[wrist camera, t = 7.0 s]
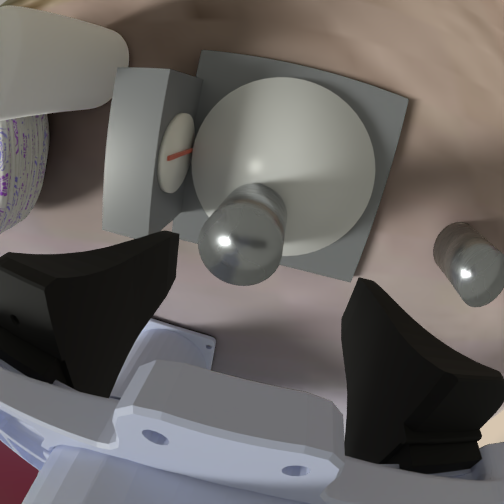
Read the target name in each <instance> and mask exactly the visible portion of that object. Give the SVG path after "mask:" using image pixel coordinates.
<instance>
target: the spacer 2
mask: <svg viewBox="0 0 504 504" xmlns="http://www.w3.org/2000/svg"><path fill="white" fill-rule="evenodd" d="M433 255H434V260H435V262H436V264H437V265H438V266H439V268H440V269H441V270H442V272H443V273H444V274H445V276H446V277H447V278H448V280H449V281H450V282H451V284H452V285H453V287H454V288H455V289H456V291H457V292H458V294H459V295H460V296H461V298H462V299H463V301H464V302H465V303H466V304H467V305H469V306H472V307H481V306H484V305H487V304H488V303H490V302H492V301H493V300H494V299H495V298H496V297H497V296H498V295H499V294H500V293H501V291H502V290H503V288H504V255H503V254H502V253H501V252H500V251H499V250H498V249H497V248H495V247H494V246H493V245H492V244H491V243H490V242H489V241H487V240H486V239H485V238H484V237H483V236H481V235H480V234H479V233H478V232H477V231H475V230H474V229H473V228H472V227H470V226H469V225H468V224H466V223H462V222H456V223H452V224H450V225H448V226H447V227H445V228H444V229H443V230H442V231H441V232H440V234H439V235H438V237H437V239H436V241H435V244H434V249H433Z"/></svg>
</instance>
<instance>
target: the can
mask: <svg viewBox="0 0 504 504" xmlns="http://www.w3.org/2000/svg"><path fill="white" fill-rule="evenodd" d="M128 66H129V51H128V47H127V44H126V42H125V40H124V39H123V37H122V36H121V35H120V34H118V33H117V32H115V31H113V30H111V29H108V28H105V27H102V26H99V25H96V24H92V23H89V22H86V21H82V20H79V19H75V18H71V17H67V16H63V15H59V14H55V13H51V12H46V11H41V10H36V9H31V8H25V7H19V6H3V7H0V121H3V120H8V119H14V118H20V117H27V116H33V115H41V114H48V113H57V112H66V111H76V110H86V109H93V108H97V107H99V106H102V105H103V104H105V103H107V102H108V101H109V100H110V99H111V98H112V96H113V89H114V83H115V78H116V72H117V67H128Z"/></svg>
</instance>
